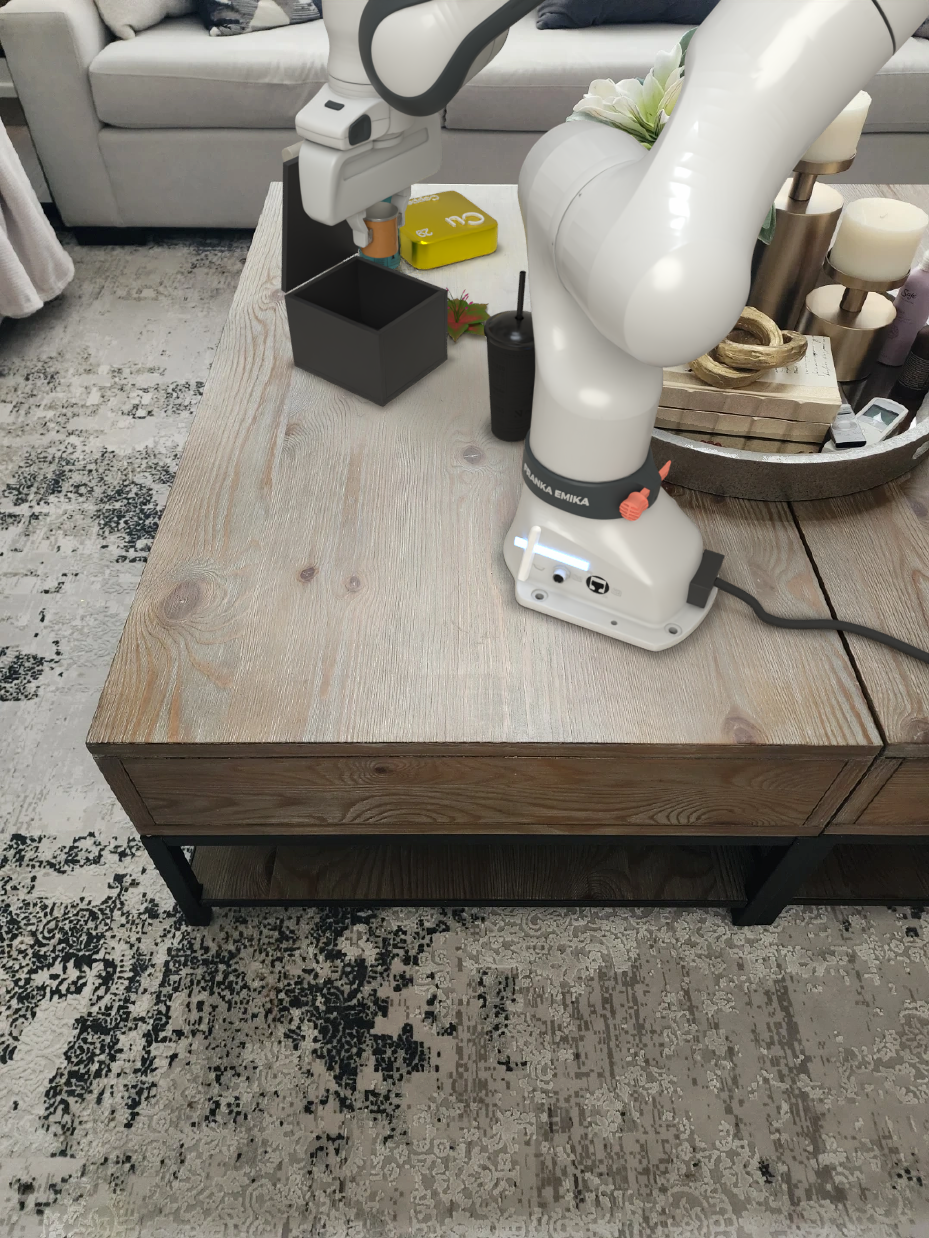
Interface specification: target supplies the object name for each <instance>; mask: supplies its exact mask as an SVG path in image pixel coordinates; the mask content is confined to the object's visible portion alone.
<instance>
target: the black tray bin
mask: <svg viewBox="0 0 929 1238" xmlns="http://www.w3.org/2000/svg"><path fill="white" fill-rule="evenodd" d="M448 290H449V289H448ZM448 290H447V289H446V288H443V287H441V286H438V285H435V284H433V283H430V282H427V281H425V280H422V279H420V278H418V277H414V276H412V275H409V274H407V273H404V272H402V271H399V270H397V269H391V268H389V267H386V266H384V265H381V264H378V263H376V262H373V261H371V260H368V259H365V258H363V257H360V256H359V254H358V255H357V254H355V255H353V256H351V257H350V258H348V259H346V260H344V261H343V263H341V264H339V265H337V266H336V267H334V268H332V269H330V270H329V271H327V272H325V273H323V274H321V275H320V276H318V277H316V278H314V279H313V280H311V281H309V282H305V283H303V284H301V285H300V286H298V287H296V288H294V289H293V290H291V291H289V292H287V293H285V294H284V295H283V296H284V297H283V298H284V303H285V311H286V318H287V324H288V325H287V326H288V331H289V339H290V345H291V351H292V358H293V366H295V367H297V368H299V369H301V370H304V371H305V372H308V373H310V374H311V375H314V376H315V377H318V378H321V379H323V380H325V381H327V382H329V383H331V384H333V385H335V386H337V387H339V388H342V389H344V390H346V391H348V392H351V393H353V394H355V395H357V396H359V397H361V398H363V399H366V400H367V401H370V402H372V403H374V404H376V405H379V406H380V407H384V406H386V405H388V403H390V402H392V400H394V399H396V397H398V396H400V395H401V394H402V393H404V392H405V391H406V390H408V389H409V388H411V387H412V386H413V385H415V384H417V382H419V381H420V380H421V379H423V378H424V377H425V376H427V375H428V374H429V373H431V372H432V371H434V370H435V369H436V368H438V367H439V366H441V365H442V364H443V363H445V362H446V361H447V360H448V339H449V337H448V335H449V333H448V298H449V291H448Z"/></svg>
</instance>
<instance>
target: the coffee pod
mask: <svg viewBox="0 0 929 1238" xmlns="http://www.w3.org/2000/svg"><path fill="white" fill-rule="evenodd" d="M397 215H398V208H397V207H396V206H395V205H393V204H390V203H387V202H378V203H376V204H374V205H372V206H370V207H368V208H366V217H365V218H363V221H364V223H365V225H366V227H370V228H372V229H373V243H371V244H370V245H368V246H366V247H364V248H363V247H361V251H362V253H363V254H365V255H367V256H369V257H374V258H385V257H390V256H392V255H394V254H396V253H397V252H398V224H397Z"/></svg>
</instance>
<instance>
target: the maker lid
mask: <svg viewBox="0 0 929 1238" xmlns="http://www.w3.org/2000/svg"><path fill="white" fill-rule="evenodd" d="M304 141H305V139H303V140H301V141H298V142H296V143H294V144H292V145H289V146H287V147H285V148H283V149H282V151H281V157H282V160H283V162H282V201H281V202H282V204H281V205H282V206H281V212H282V213H281V272H280V273H281V274H280V275H281V277H280V280H281V281H280V285H281V286H280V290H281V292H282V293H284V294H288V293H290V292H291V291H293V290H295V289H297V288H298V287H300V286H302V285H304V284H306V283H307V281H309V280H310V279H312V278H314V277H316V276H318V275H319V274H321V273H323V272H325V271H326V270H328V269H330V268H332V267H334V266H335V265H337V264H339V263H341V262H342V261H343V262H345V261H346V260H348V259H350V258H352V257H354V256H355V255H357V254H358V253H359V246H357V245H356V244H355V243H354V239H353V229H352V228H351V227H350V225H349V223H348V222H347V220H346V219H345V220H343V221H341V222H339V223H337V224H335V225H333V226H330V225H326V224H323V223H320V222H318V221H316V220H313V219H311V218H310V217H309V216H308V214H307V213H306V212H305V210H304V208H303V203H302V196H301V188H300V177H299V152H300V148H301V145H302V143H303V142H304Z"/></svg>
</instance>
